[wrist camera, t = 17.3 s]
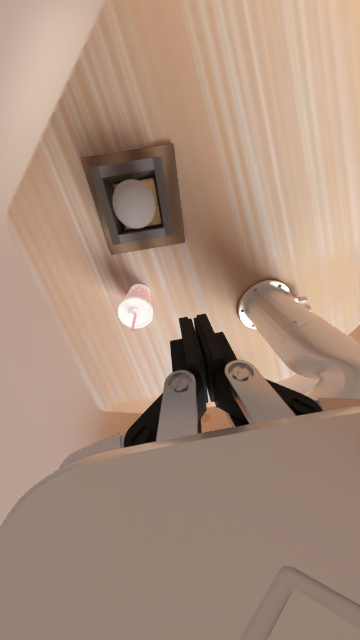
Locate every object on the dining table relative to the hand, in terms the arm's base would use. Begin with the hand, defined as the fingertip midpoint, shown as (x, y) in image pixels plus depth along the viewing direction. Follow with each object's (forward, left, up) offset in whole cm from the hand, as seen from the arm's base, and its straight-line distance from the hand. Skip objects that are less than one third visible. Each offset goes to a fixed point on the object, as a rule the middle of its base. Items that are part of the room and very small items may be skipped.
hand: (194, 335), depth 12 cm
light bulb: (+4, -8, -27) cm, 29 cm away
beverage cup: (+8, +8, -29) cm, 31 cm away
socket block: (+4, -8, -29) cm, 30 cm away
